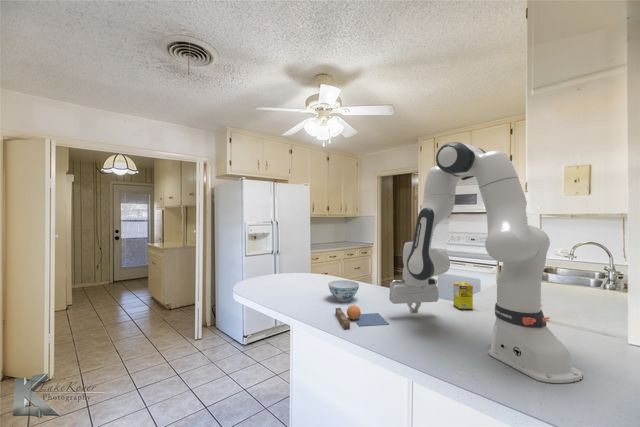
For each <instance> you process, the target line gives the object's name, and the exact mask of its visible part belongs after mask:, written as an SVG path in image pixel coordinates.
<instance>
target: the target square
mask: <svg viewBox="0 0 640 427" xmlns="http://www.w3.org/2000/svg"><path fill="white" fill-rule="evenodd" d="M354 322H355V323H356V324H357V326H358V327H373V326H387V325H390V323H389V322H388V321H387V320H386V319H385V318H384V317H383V316H382V315H381V314H380V313H378V312H376V313H375V312H374V313H371V312H370V313H361V314H360V317H359V318H358V319H355V320H354Z"/></svg>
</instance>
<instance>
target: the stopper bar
mask: <svg viewBox="0 0 640 427" xmlns="http://www.w3.org/2000/svg"><path fill="white" fill-rule="evenodd" d="M335 316H336V317H337V319H338V321H339V323H340V325H342V328H343V329H344V330H351V322H350V320H349V319H348V317H347V315H346V314H345V313H344V312H343V310H342V309H341V307H336V308H335Z"/></svg>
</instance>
